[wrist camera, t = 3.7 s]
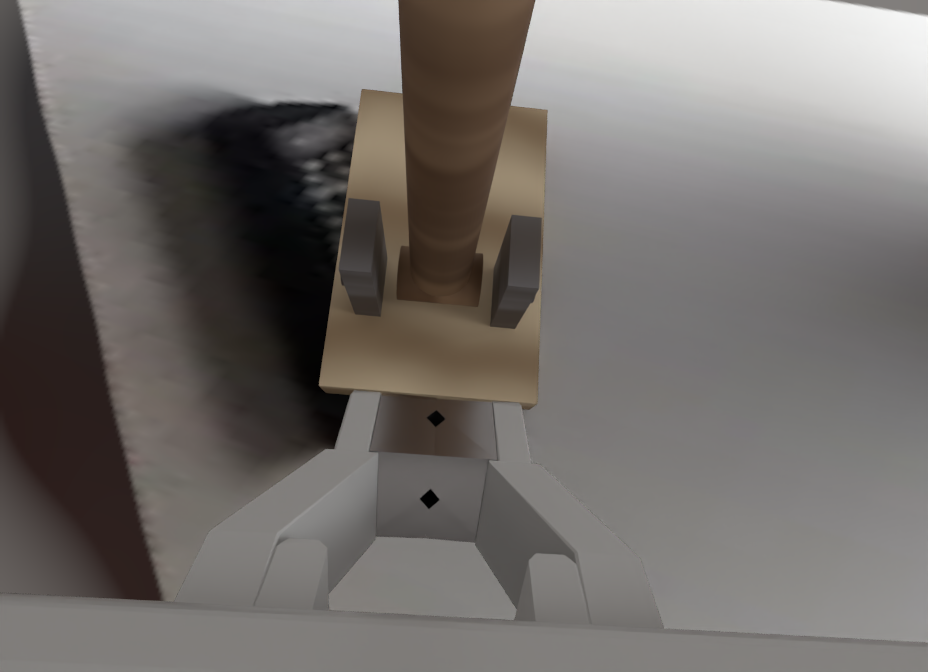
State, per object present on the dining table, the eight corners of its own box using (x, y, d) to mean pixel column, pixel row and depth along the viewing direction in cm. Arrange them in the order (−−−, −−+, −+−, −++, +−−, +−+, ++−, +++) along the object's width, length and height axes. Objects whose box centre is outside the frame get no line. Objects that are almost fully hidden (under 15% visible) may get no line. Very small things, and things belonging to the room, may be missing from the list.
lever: (478, 330, 25) (1054, -1200, 2) (391, 323, 25) (88, -1453, 2) (484, 251, 26) (912, -1329, 3) (400, 242, 26) (263, -1505, 3)
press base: (529, 409, 27) (568, 381, 20) (326, 392, 27) (291, 357, 19) (539, 132, 31) (575, 27, 24) (365, 113, 31) (348, -1, 24)
